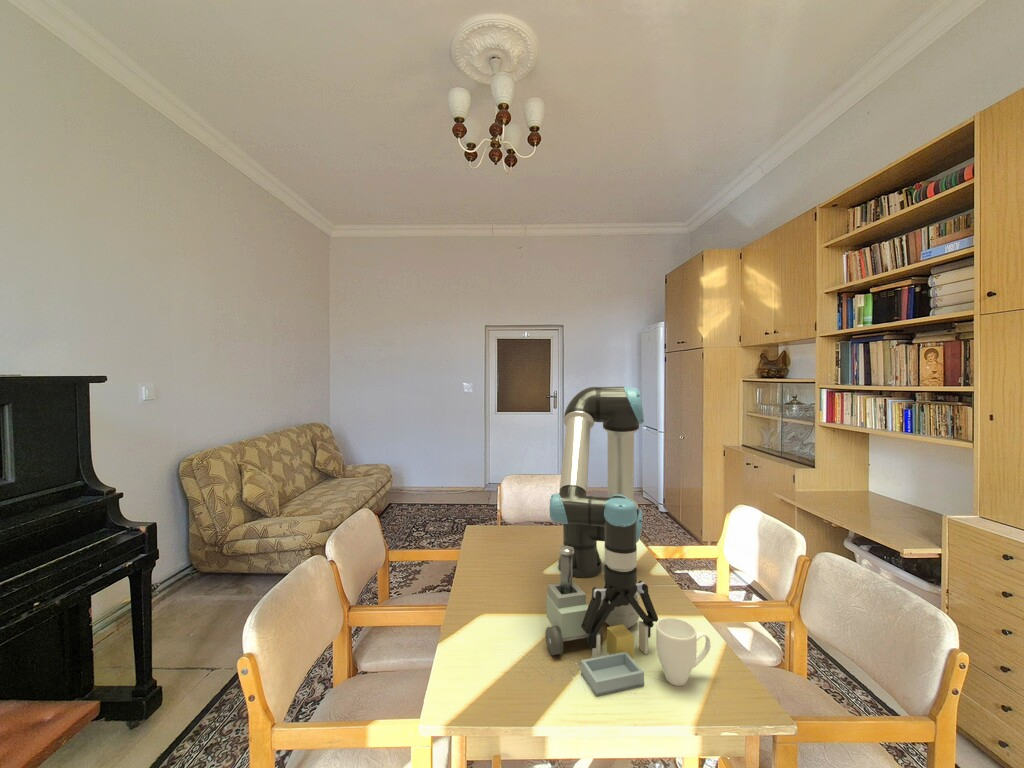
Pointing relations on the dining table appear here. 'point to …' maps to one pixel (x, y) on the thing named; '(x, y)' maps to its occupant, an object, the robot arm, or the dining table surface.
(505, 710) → the dining table surface
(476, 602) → the dining table surface
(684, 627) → the mug
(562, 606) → the trolley
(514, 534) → the dining table surface
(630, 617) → the teacup
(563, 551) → the flashlight
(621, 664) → the tray
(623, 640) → the block
